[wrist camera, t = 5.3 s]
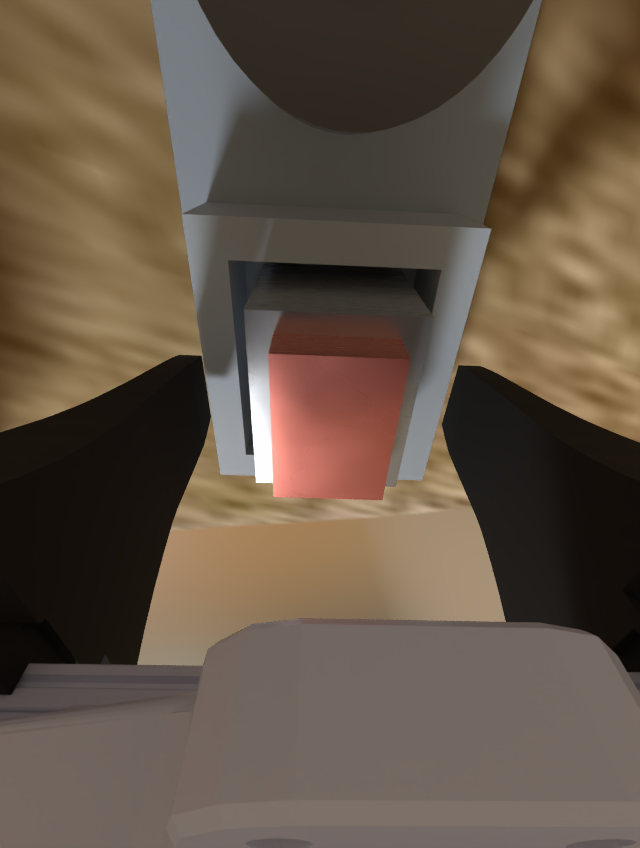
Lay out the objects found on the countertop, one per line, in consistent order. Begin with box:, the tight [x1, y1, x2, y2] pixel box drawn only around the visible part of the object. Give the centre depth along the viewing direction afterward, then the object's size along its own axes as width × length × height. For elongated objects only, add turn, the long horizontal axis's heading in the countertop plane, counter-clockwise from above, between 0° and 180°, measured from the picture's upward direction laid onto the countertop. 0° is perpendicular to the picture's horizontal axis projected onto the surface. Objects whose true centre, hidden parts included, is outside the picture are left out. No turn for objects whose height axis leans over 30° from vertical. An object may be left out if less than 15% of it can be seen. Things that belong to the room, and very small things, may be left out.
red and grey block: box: [244, 262, 434, 500], centre depth 11 cm, size 4×5×6 cm
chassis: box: [151, 0, 542, 480], centre depth 11 cm, size 9×17×4 cm, turn 178°
